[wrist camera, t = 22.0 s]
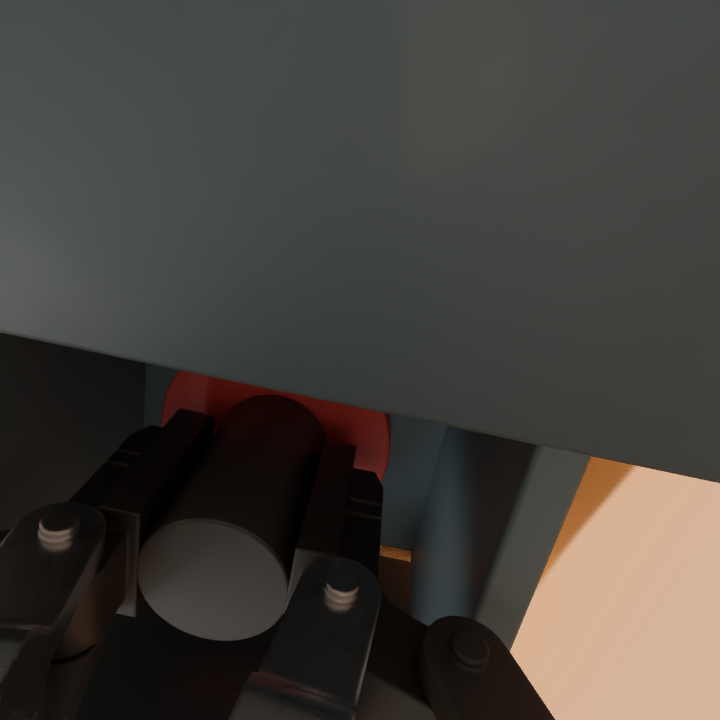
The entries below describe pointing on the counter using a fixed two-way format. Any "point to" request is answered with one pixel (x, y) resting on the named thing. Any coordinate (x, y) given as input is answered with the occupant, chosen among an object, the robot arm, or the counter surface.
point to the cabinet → (382, 206)
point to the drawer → (242, 657)
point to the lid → (244, 503)
